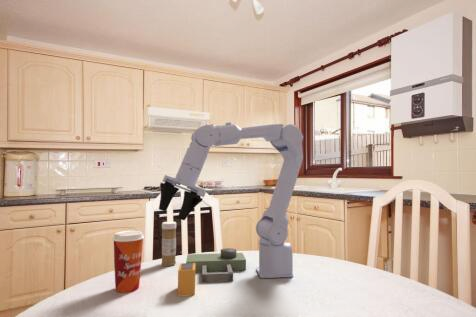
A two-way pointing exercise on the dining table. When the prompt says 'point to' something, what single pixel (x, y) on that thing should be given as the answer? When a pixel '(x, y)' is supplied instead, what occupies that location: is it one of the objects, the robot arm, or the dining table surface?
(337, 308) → the dining table surface
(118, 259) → the paper cup
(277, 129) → the robot arm
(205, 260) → the green block with knob
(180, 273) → the chute block
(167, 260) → the sprinkles bottle
